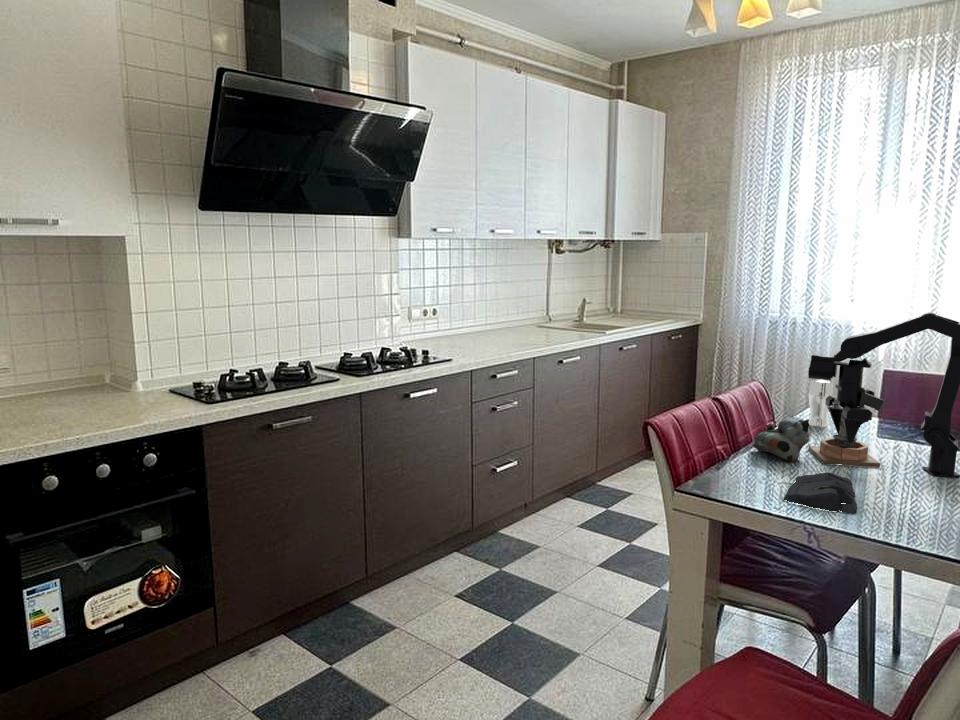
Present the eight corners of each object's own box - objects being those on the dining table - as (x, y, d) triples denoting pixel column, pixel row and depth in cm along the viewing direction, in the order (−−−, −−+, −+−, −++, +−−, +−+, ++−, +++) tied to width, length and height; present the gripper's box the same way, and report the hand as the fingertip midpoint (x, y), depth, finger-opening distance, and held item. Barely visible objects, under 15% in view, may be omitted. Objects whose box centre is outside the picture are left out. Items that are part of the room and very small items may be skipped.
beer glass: (812, 421, 235) (816, 377, 233) (833, 425, 230) (837, 380, 228) (802, 424, 231) (806, 380, 229) (823, 429, 226) (828, 383, 223)
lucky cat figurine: (751, 447, 204) (775, 405, 203) (791, 469, 199) (816, 426, 198) (750, 445, 190) (776, 400, 189) (793, 468, 185) (820, 423, 184)
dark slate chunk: (861, 490, 170) (863, 471, 169) (856, 519, 151) (858, 498, 151) (793, 479, 178) (794, 460, 177) (779, 505, 159) (781, 485, 158)
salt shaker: (860, 453, 191) (864, 410, 189) (838, 453, 191) (842, 410, 189) (848, 447, 196) (852, 405, 195) (828, 447, 196) (831, 405, 195)
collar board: (879, 467, 186) (881, 452, 185) (823, 464, 188) (825, 449, 188) (860, 452, 200) (862, 438, 199) (808, 449, 202) (809, 435, 201)
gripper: (896, 390, 180) (890, 448, 183) (868, 377, 198) (863, 430, 201) (849, 388, 182) (844, 446, 184) (827, 375, 200) (822, 429, 203)
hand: (845, 437), depth 193 cm, fingers closed on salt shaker, 8 cm apart
